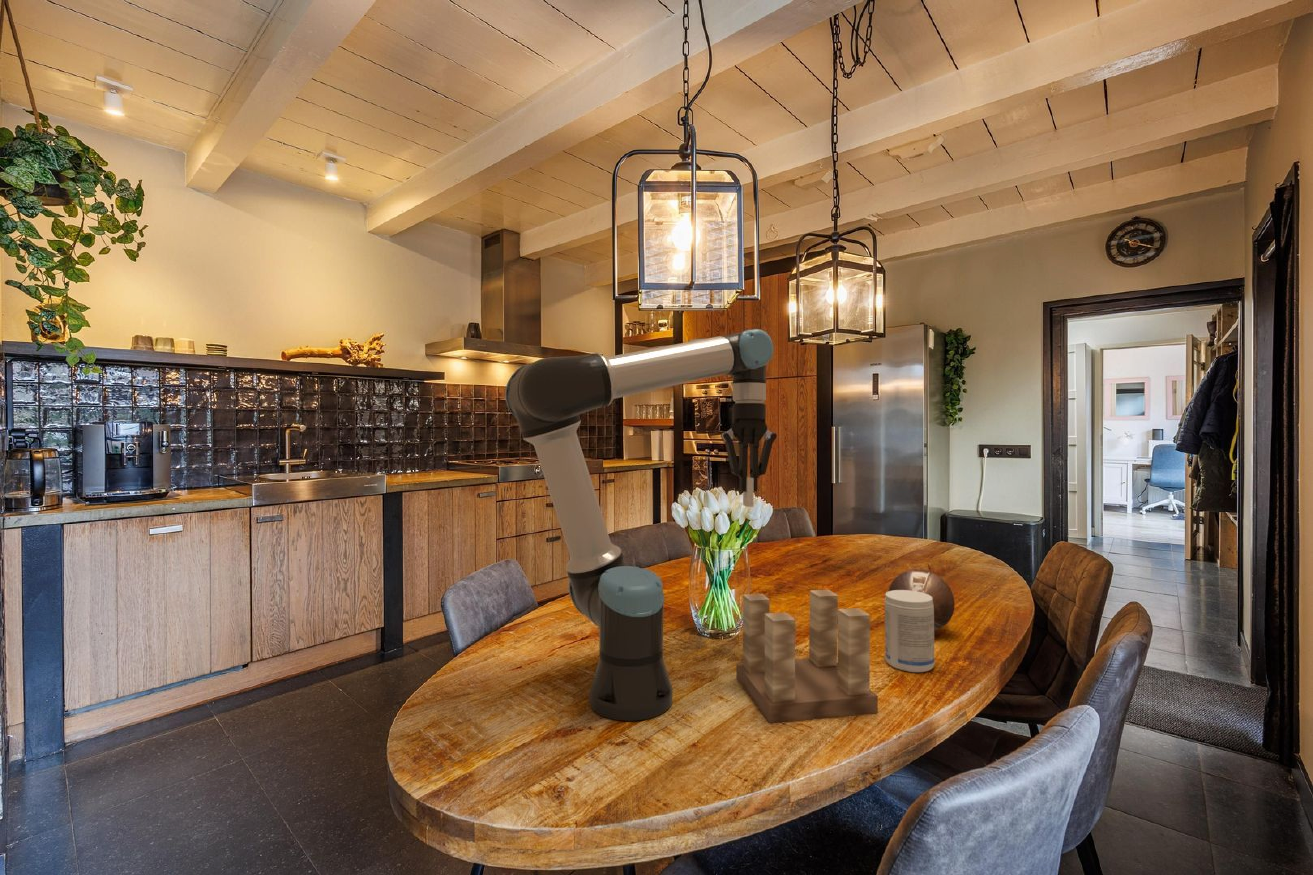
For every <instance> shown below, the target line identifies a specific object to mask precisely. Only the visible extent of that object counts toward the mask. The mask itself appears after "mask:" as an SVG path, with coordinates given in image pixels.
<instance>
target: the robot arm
mask: <svg viewBox="0 0 1313 875" xmlns="http://www.w3.org/2000/svg"><path fill="white" fill-rule="evenodd" d="M773 355H774V344H773V340H772V338H771V336H770V335H769V334H768V333H767V332H766V331H764V330H763V329H758V328H754V329H747V330H746V329H745V330H744V331H741V332H737V333H729V334H724V335H720V336H714V337H709V338H701V339H699V338H698V339H696V338H695V339H694V338H693V339H691V340H689V341H687V342H686V341H685V342H683V343H676V344H671V345H664V346H660V347H654V348H649V349H643V350H638V351H633V352H627V353H621V354H617V355H611V356H604V355H602V354H601V353H599V352H596V353H595V352H594V353H590V354H589V353H588V354H583V355H573V356H554V357H553V356H549V357H544V358H543V357H542V358H540V359H538V360H536V361H534V362H528V363H526V364H524V365H521V366H520V367H519V368H517V369H516V370H515V371H514V372H513V374H512V375H511V376H510V378H509V379H508V381H507V384H506V386H505V390H504V391H505V392H504V398H505V403H506V406H507V408H508V410H509V412H510V413H511V414H512V416H513V417H514V418H515V419H516V421H517V424H518V428H519V430H520V433H521V436H522V438H523V441H525V442H528V443H529V444H531V445H533V446H534V450H535V453H536V456H537V459H538V463H539V465H540V469H541V471H542V475H543V476H544V480H545V484H546V487H547V490H548V493H549V496H550V499H551V501H552V505H553V508H554V511H555V514H556V518H557V520H558V523H559V527H560V529H561V533H562V536H563V539H564V542H565V545H566V549H567V551H568V553H569V560H568V562H567V563H566V565H565V569H566V572H567V575H568V579H569V580H568V593H569V596H570V600H571V601H572V603H573V605H574V607H575V609H576V610H577V611H578V612H579V613H580V614H582V615H583V616H584V617H586V618H587V619H588V620H590V621H591V622H592V623H593V624H594V625H595V626H596V627H597V628H598V631H599V632H598V634H599V635H598V637H599V640H598V641H599V642H598V643H599V645H598V646H599V657H598V658H599V660H598V664H597V667H596V668H595V672H594V676H593V678H592V682H591V685H590V688H589V705H590V707H591V709H592V711H594V712H595V713H596V714H598V715H600V716H602V717H605V718H607V719H610V720H616V721H617V720H618V721H624V722H626V721H627V722H628V721H629V722H632V721H635V722H636V721H642V720H649V719H652V718H655V717H657V716H658V717H659V716H660V715H663V714H664V713H665V712H667V711H668V710H670V707H671V706H672V705H673V700H674V699H673V696H674V695H673V692H674V691H673V686H672V683H671V680H670V677H669V674H668V670H667V667H666V664H665V660H664V602H665V595H664V588H663V582H662V580H661V577H659V575H658V574H656V573H655V572H654V571H653V570H650V569H647V568H640V567H639V566H630V565H627V564H626V560H625V559H624V555H623V551H622V548H621V547H619V546H617V545H616V544H613V543H612V542H611V539H610V535H609V532H608V528H607V526H606V523H605V522H606V521H605V519H604V517H603V514H602V513H603V512H602V510H601V506H600V503H599V500H598V497H597V494H596V490H595V487H594V484H593V481H592V477H591V475H590V471H589V468H588V465H587V463H586V459H585V456H584V453H583V450H582V446H581V444H580V440H579V436H578V433H577V430H579V427H580V425H581V422H582V421H581V418H580V415H581V414H584V413H587V412H590V411H592V410H597V409H599V408H604V407H609V406H610V405H611V404H612V402H613V400H614V399H620V398H624V397H628V396H633V395H637V394H641V393H646V392H651V391H655V390H659V389H664V388H668V387H672V386H673V387H674V386H677V385H681V384H687V383H691V382H696V381H700V380H704V379H709V378H713V377H719V376H730V377H732V401H733V402H735V403H733V405H732V409H731V410H732V412H731V413H732V414H731V415H732V418H731V419H732V422H731V425H730V427H729V428H730V429H729V430H727V431H724V432H721V434H720V437H721V439H722V441H723V442H724V445H725V449H726V454H727V458H728V462H729V463H728V464H729V466H730V472H731V474H733V475H735V476H738V478H739V491H740V492H742V494H743V495H742V497H743V498H742V500H743V501H742V505H743V506H745V507H748V508H749V507H750V508H751V507H752V508H753V507H754V492H757V491H758V478H760V476H763V475H766V473H767V469H768V464H769V459H770V456H771V453H772V452H771V451H772V447H773V443H774V442H775V440H776V439H777V437H778V435H777V433H774V432H771V430H769V429H768V426H767V423H766V417H767V416H766V415H767V414H766V413H767V407H766V406H767V405H766V404H765V403H764V402H765V401H767V385H766V384H767V382H766V381H767V364H769V362H771V360H772V358H773ZM763 437H764V438H763ZM734 438H736V440H737V441H738V443H737V444H738V457H737V454H736V448H735V444H734V441H733V439H734ZM762 438H763V439H764V441H763V444H762V448H761V453H760V457H759V447H760V442H761V440H762ZM748 452H749V458H748ZM748 459H749V476H750V477H749V476H748Z"/></svg>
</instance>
